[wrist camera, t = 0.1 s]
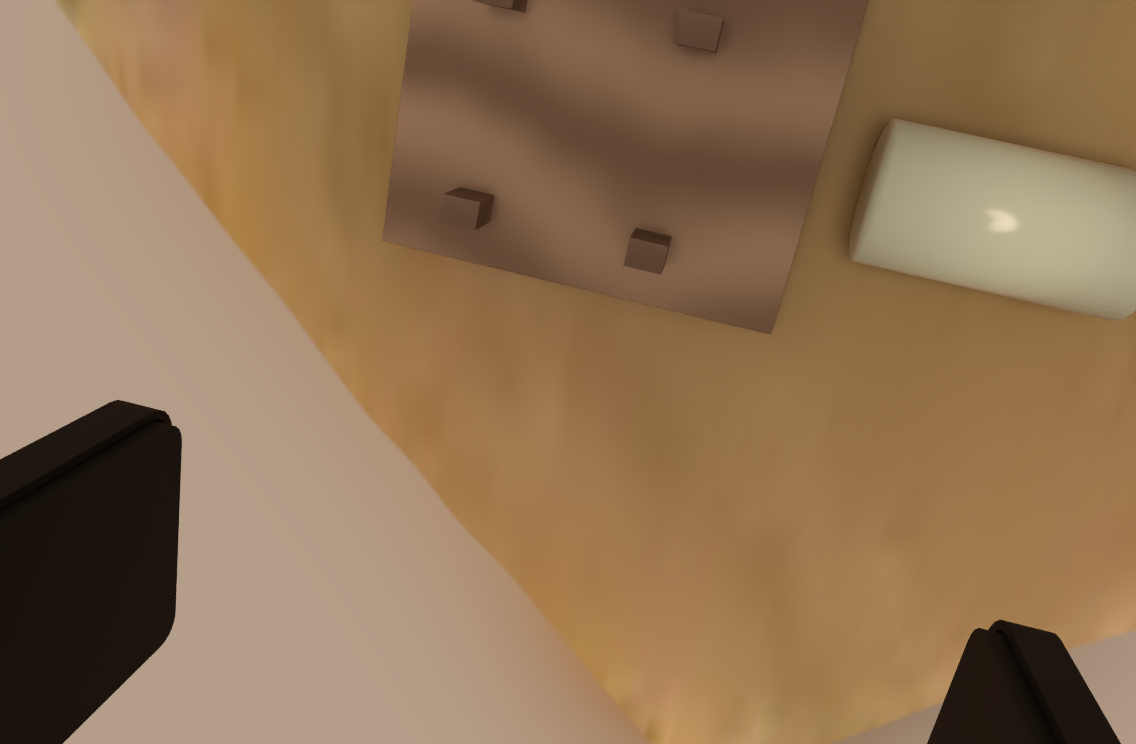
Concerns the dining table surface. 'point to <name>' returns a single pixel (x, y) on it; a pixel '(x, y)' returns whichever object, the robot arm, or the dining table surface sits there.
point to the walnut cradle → (621, 142)
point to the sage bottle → (999, 219)
